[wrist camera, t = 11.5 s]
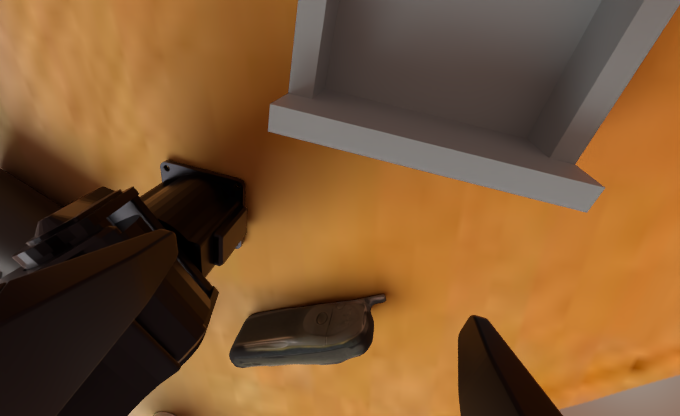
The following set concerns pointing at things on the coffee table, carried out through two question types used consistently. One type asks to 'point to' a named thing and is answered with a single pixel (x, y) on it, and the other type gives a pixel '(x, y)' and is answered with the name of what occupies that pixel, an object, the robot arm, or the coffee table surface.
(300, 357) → the mobile phone
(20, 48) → the coffee table surface
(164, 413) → the house plant
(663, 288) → the coffee table surface
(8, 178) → the black boxy device
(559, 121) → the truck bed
